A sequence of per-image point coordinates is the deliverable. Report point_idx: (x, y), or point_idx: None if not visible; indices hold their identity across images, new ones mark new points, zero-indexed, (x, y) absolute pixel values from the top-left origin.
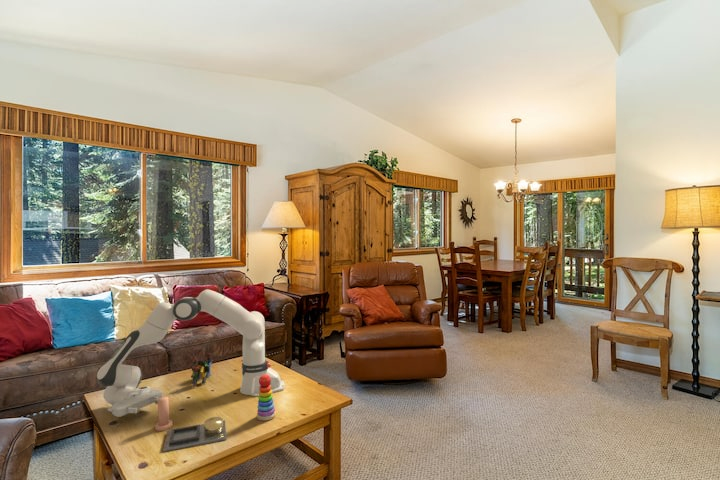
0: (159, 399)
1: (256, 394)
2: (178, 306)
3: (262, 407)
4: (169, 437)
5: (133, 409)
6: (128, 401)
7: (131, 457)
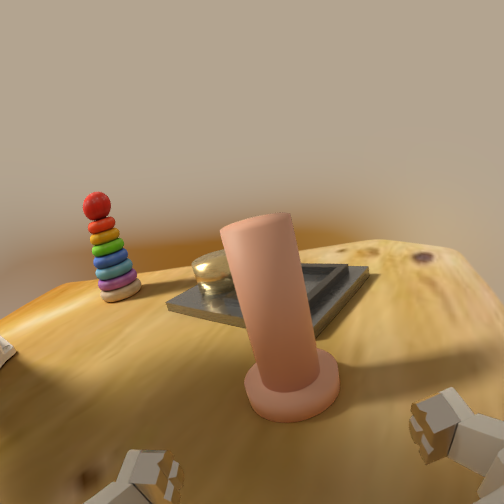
0: (275, 219)
1: (12, 346)
2: None
3: (129, 259)
4: (330, 295)
5: (473, 422)
6: None
7: (452, 279)
